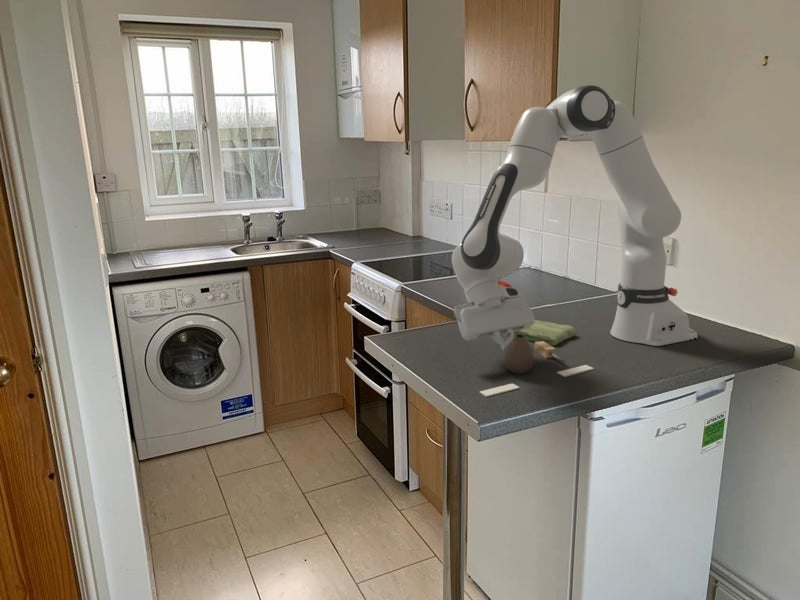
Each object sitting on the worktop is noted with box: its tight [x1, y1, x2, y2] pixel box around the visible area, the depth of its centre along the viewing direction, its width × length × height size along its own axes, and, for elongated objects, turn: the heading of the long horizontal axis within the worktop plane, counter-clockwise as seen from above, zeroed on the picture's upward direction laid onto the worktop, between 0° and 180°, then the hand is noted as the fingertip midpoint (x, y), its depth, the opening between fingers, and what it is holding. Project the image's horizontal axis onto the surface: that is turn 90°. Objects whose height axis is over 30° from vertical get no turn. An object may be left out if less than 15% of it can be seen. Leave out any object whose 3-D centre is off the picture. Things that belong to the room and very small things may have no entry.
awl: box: [534, 341, 566, 364], centre depth 153 cm, size 12×2×2 cm, turn 17°
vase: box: [503, 334, 535, 374], centre depth 144 cm, size 7×7×9 cm
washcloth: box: [513, 319, 577, 347], centre depth 170 cm, size 13×18×3 cm
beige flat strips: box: [479, 364, 594, 398], centre depth 139 cm, size 31×2×1 cm, turn 117°
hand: (509, 348), depth 147 cm, fingers closed
